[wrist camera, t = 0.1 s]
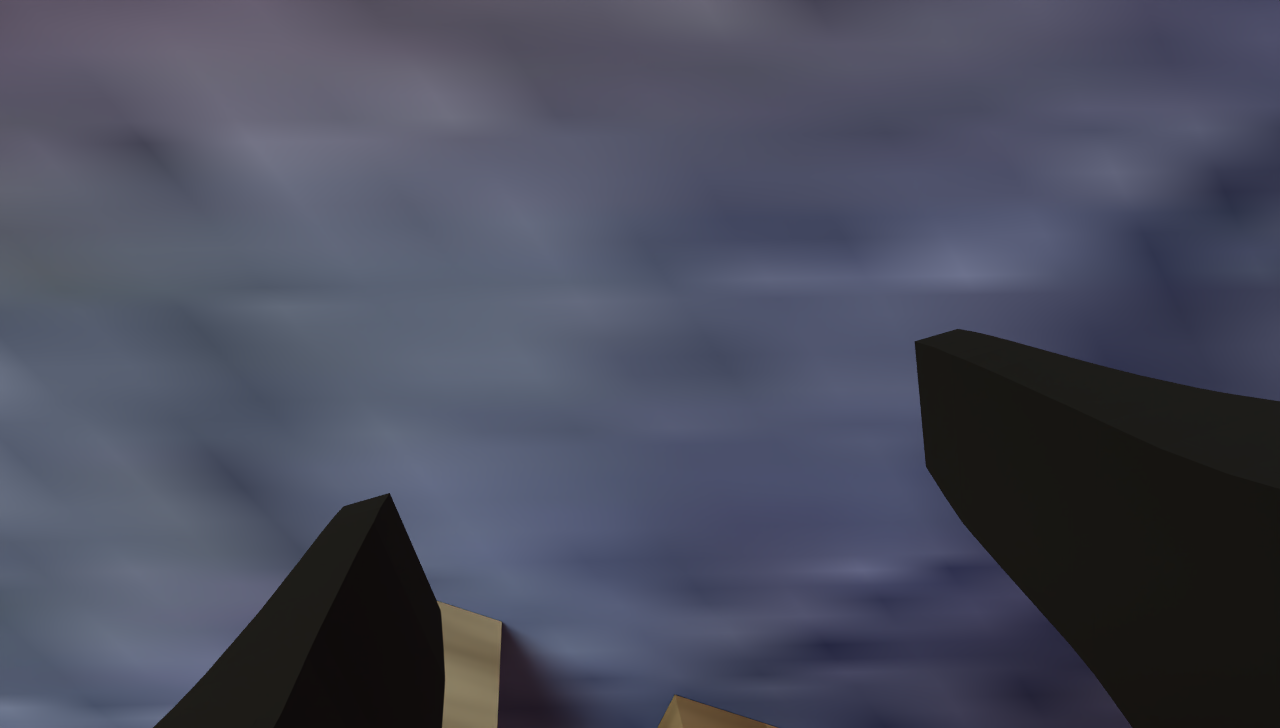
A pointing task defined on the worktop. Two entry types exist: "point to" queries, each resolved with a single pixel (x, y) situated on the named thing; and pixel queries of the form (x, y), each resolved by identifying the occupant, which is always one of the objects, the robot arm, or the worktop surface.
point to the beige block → (470, 668)
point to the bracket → (703, 716)
